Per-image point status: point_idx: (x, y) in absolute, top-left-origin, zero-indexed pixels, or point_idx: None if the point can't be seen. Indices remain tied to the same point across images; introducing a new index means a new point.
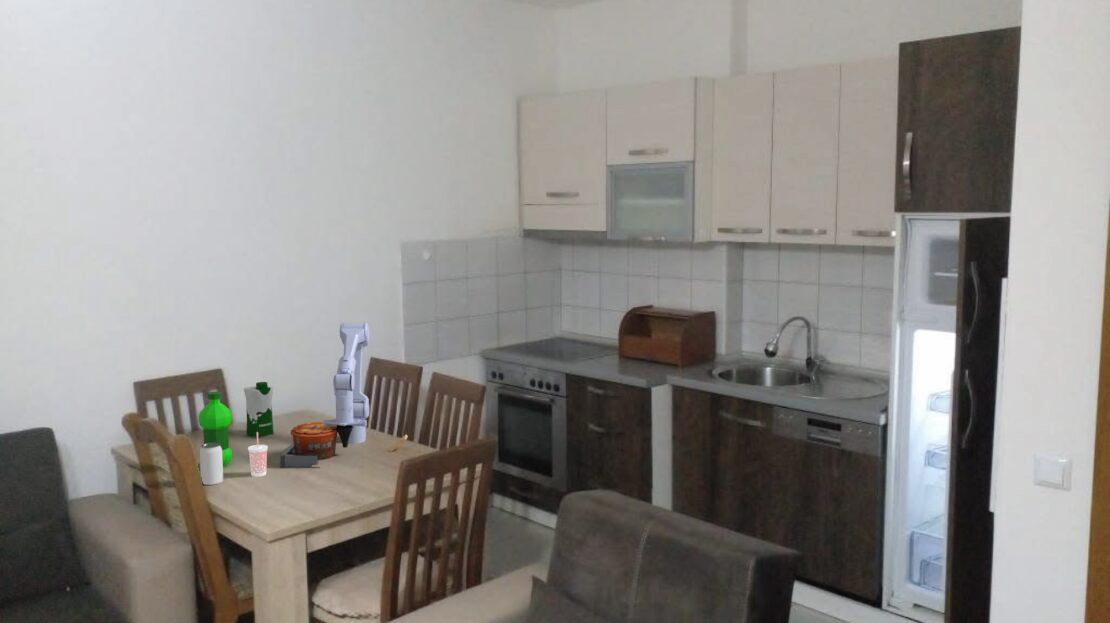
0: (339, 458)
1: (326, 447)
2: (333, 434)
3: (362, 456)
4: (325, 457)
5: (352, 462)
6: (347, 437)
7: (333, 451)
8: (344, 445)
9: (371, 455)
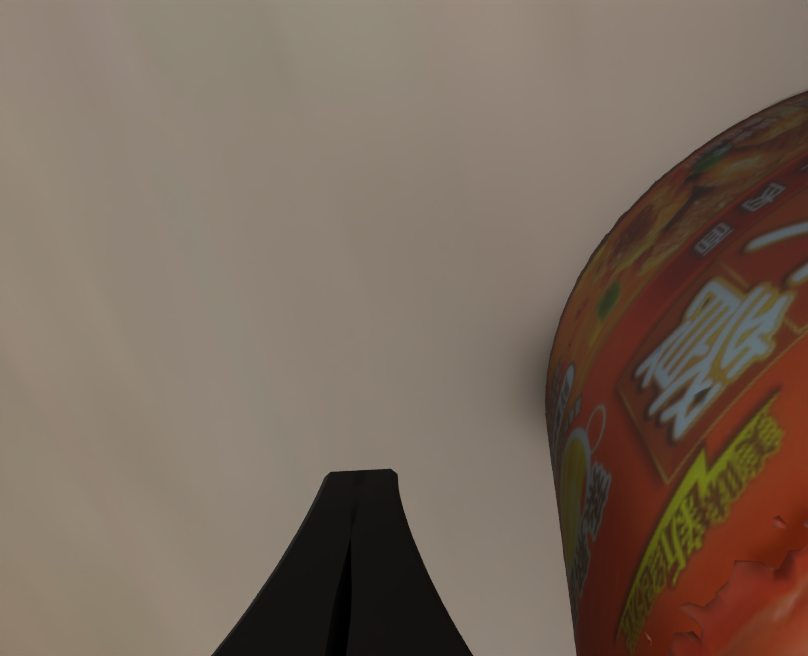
0: (459, 366)
1: (758, 249)
2: (710, 614)
3: (153, 467)
4: (682, 186)
5: (180, 177)
6: (238, 640)
7: (569, 387)
8: (359, 492)
9: (49, 511)
